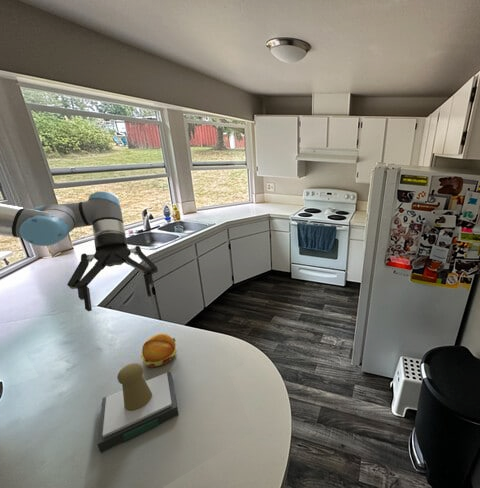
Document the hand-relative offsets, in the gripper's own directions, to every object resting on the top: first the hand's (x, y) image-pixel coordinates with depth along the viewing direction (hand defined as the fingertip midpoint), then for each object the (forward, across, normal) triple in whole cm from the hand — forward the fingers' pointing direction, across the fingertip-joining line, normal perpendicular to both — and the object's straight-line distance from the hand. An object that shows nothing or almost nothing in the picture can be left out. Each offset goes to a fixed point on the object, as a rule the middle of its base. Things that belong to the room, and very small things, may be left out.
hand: (120, 302), depth 71 cm
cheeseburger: (+17, -6, -20) cm, 27 cm away
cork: (+27, 0, -5) cm, 27 cm away
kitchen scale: (+29, 0, -7) cm, 30 cm away
